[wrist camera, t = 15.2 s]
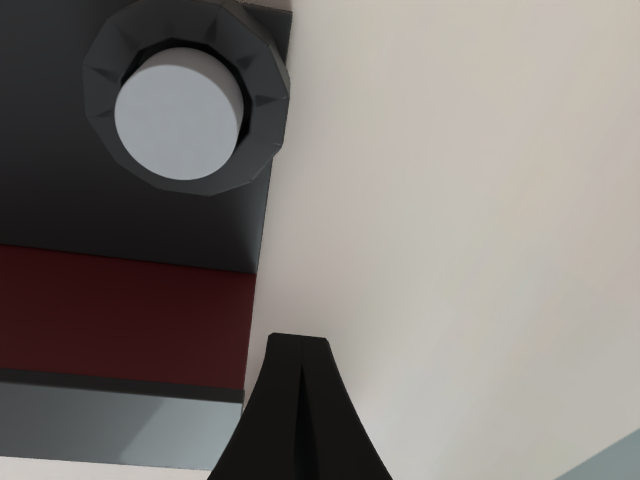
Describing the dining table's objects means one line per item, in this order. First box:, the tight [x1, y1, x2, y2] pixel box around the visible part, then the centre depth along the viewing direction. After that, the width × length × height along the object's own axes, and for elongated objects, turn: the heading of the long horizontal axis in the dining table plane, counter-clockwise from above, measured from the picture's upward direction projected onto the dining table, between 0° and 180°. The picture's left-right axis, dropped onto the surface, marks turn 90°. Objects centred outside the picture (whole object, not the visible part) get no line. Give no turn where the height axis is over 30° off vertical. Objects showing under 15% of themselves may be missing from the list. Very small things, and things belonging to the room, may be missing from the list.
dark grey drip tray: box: [0, 0, 292, 274], centre depth 18 cm, size 11×14×3 cm
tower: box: [0, 244, 257, 471], centre depth 20 cm, size 5×14×8 cm, turn 80°
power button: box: [114, 47, 244, 180], centre depth 16 cm, size 4×4×2 cm
